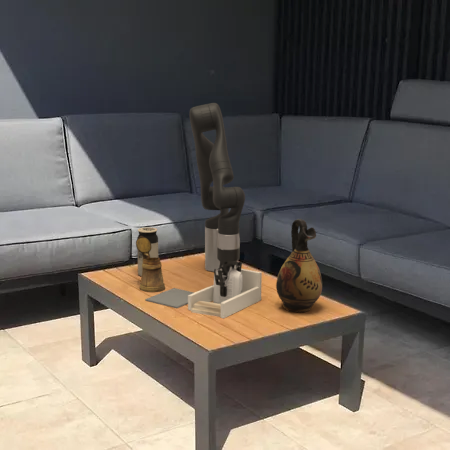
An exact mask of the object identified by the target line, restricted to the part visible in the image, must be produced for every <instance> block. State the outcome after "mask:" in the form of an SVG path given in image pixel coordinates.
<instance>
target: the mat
mask: <svg viewBox="0 0 450 450" xmlns="http://www.w3.org/2000/svg"><path fill="white" fill-rule="evenodd" d="M193 293H195V292H194V291H189V290H185V289H182V288H175V287H173V288H170V289H168V290H165V291H162V292H159V293H158V294H157V293H156V295H151V296H150V297H148V298H147V297H146V298H145V299H144V300H145V301H146V302H150V303H153V304H158V305H162V306H166V307H170V308H173V309H179V308H182V307H183V306H186V305H188V295H190V294H193Z"/></svg>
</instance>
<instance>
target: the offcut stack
mask: <svg viewBox="0 0 450 450" xmlns="http://www.w3.org/2000/svg"><path fill="white" fill-rule="evenodd" d="M190 313H194V314H199V315H206V316H211V317H212V316H213V317H217V318H218V317H219V318H221V304H219V303H214V302H212V301H211V302H204V301H198V302H197V303H195V304H194V308H192V309H191V310H190Z"/></svg>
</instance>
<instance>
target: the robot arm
mask: <svg viewBox="0 0 450 450" xmlns="http://www.w3.org/2000/svg"><path fill="white" fill-rule="evenodd" d="M188 117H189V121H190V126H191V131H192V135H193V141H194V148H195V149H194V150H195V157H196V164H197V171H198V177H199V182H200V184H199V185H200V199H201V200H200V201H201V206H202V207H203V209H205V210H206V211H207V210H208V211H219V213H218V214H217V215H215V216H212V217H209V218H207V219H206V220H205V223H204V245H205V246H204V269H205V271H207V272H208V271H209V272H213V277H214V276H215V282H216V285H220V296H222V297H226V296H227V281H228V280H229V276H230V272H231V271H232V269H234V270H237V271H239V272H241V269H243V267H242V266H243V262H242V261H239V260H240V255H241V253H240V252H241V251H240V244H241V240H240V239H241V238H240V220H241V214H242V211H243V208H244V205H245V201H246V195H245V191H244V190H243V189H242V188H241V187H240V186H230V187H229V186H227V187H225V185H228V184H230V183H231V182H233V180H234V177H235V176H234V171H233V167H232V164H231V160H230V156H229V152H228V144H227V137H226V131H225V130H226V129H225V125H224V119H223V113H222V110H221V108H220V105H219V104H218V103H216V102H211V103H206V104H201V105H196V106H193V107H191V108H190V109H189V116H188ZM214 130H215V140H214V143H213V142H212V141H211V140H209V139H208V138H207V137H206V136H205V133H206V132H210V131H211V132H212V131H214ZM212 183H213V185H212V186H211V184H212ZM229 209H230V210H229ZM222 275H225V276H226V277H223V276H222ZM223 279H224V282H223Z"/></svg>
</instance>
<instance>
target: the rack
mask: <svg viewBox="0 0 450 450" xmlns="http://www.w3.org/2000/svg"><path fill="white" fill-rule="evenodd" d="M241 273H242V275H243V287H242V293H241V294H239V295H237V296H235V297H233V298H230V299H228V300H226V301H224V302H222V303H221V317H220V318H221V319H225V318H227V317H229V316H231V315H233V314H235V313H238V312H240V311H242V310H244V309H246V308H247V307H250V306H252V305H254V304H257V303H258V302H260V301H262V281H263V280H262V276H263V274H262V271H256V270H251V269H247V268H241ZM213 296H214V284H212V285H210V286H207V287H205V288H202V289H200V290H198V291H195V292H194V293H193V294H190V295H188V304H187V310H188V311H191V309H192V308H194V304H195V303H197V302H198V301H204V302H211V303H212V302H213Z"/></svg>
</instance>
